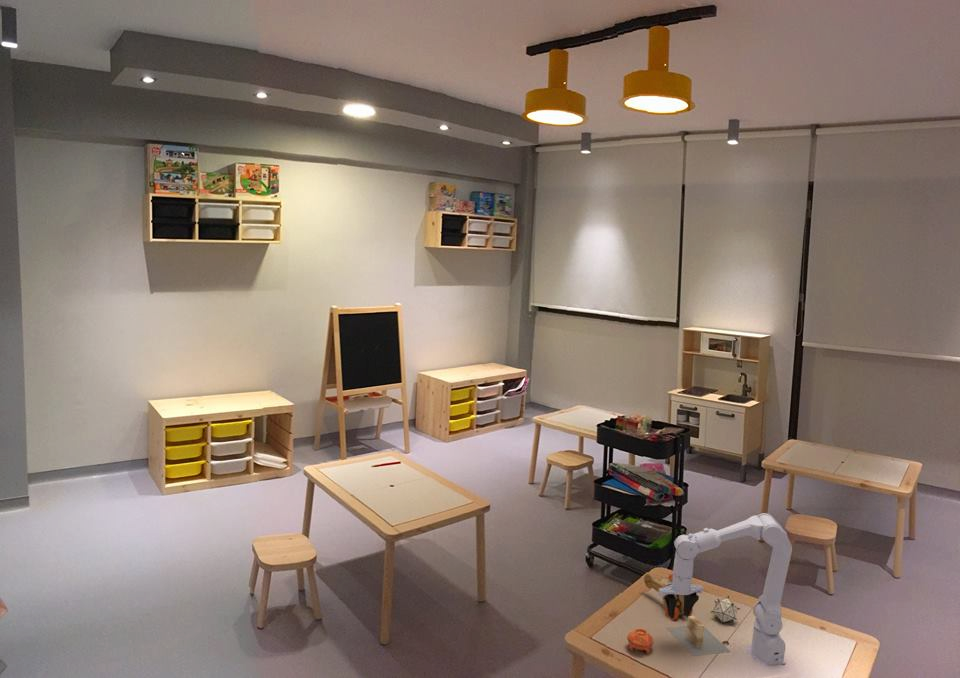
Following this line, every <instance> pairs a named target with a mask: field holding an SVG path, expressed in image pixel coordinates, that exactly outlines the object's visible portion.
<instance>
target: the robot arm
mask: <svg viewBox="0 0 960 678" xmlns="http://www.w3.org/2000/svg"><path fill="white" fill-rule="evenodd" d="M747 536H748V537H750V538H753V539H756V540H758V541H760V540H761V538H762V540H763V541H764V542H765V543H766V544H768V545H769V546H771V547H772V550H771V554H770V559H769V560H770V561H769V564H768V565H769V566H768V569H767V573H766V578H765V581H764V582H765V583H764V587H763V592H762V594H761V595H760V596H759V597H758V600H757V602H756V603H755V604H754V606H753V609H752V613H753V615H754V617H755V621H754V623H753V628H752V629H753V630H752V638H751V646H748V647H744V650H746V651H747V652H748V653H749V654H750V655H751V656H752V657H753V658H755V659H756V660H757V661H758V662H759V663H760V664H761V665H762V666H764V667H765V666H766V667H767V666H773V665H786V663H787V662H786V661H785V660H784V659H785V652H786V642H785V640H784V639H783V638H782V637H781V635H780V632H781V631H782V630H783V627H784V626H783V622H782V621H783V620H782V615H783V612H782V606H781V601H782V597H783V593H784V588H785V583H786V579H787V576H788V575H787V574H788V572H789V571H788V570H789V566H790V561H791V557H792V553H793V546H792V544H791V542H790V539H789V537H788V532H787V531H785V530H784V529H783V527H782V526H781V525H780V523H779V522H778V521H777V520H776V519H775V517H773V516H772V515H771V514H770V513H766V512H765V513H764V512H763V513H760V514H758V515H752V516H750V517H748V518H747V519H744V520H743V521H739V522H737V523H734V524H732V525H729V526H726V527H723V528H721V529H718V530H717V529H714V528H708V527H705V528H703V530H701V531H698V532H695V533H692V532H691V533H688V534H681V535H679V536H677V537H676V538H675V540H674V541H673V544H674V545H673V546H674V548H675V549H676V550H675V554H674V559H673V572H672V574H673V580H672V582H671V584H672V585H669V586H666V587H664V588H659V592H657V593H658V595H659V596H660V597H661V598H662V597H664V599H665V601H666V605H667V609H668V615H669V616H670V617H671V618H674V614H675V607H676V604H677V602H678V600H676V599H675V596H674V595H684V614H685V615H686V616H685V615H684V614H683V615H684V616H685V617H687V618H688V617H689V615H690V612H691V610H692V609H693V607H694V606H695V605H696V603H697V602H698V601H699V600H700V596H699V595H698V593H699V594H704V587H703V586H702V585H701V584H692V582H693V581H692V580H693V574H694V573H693V572H694V564H695V563H694V558H695V557H697V555H698V554H700V553H702V552H706V551H709V550H712V549H716V548H719V547H720V545H721V543H722V542H725V541H729V540H733V539H739V538H743V537H747ZM690 616H691V615H690Z"/></svg>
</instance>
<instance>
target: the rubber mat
mask: <svg viewBox="0 0 960 678" xmlns="http://www.w3.org/2000/svg"><path fill="white" fill-rule="evenodd" d="M666 629H667V631H669V632H670V633H671V634H672V636H673V637H675V639H677V640H678V642H680V644H681V645H683V647H684V648H685V649H686V650H687V651H688V652H689V653H690V654H691V655H692V656H693V657H698V656H707V655H716V654H722V653H731V650H730V649H729V648H728V647H727V646H726V645H725V644H724V643H722V642H721V641H720V640H719V639H718V638H717V637H716V636H715V635H713V634H712V633H711V632H710V631H709V630H708V629H707V628H706V627H705V626H704V635H703V645H702V647H696V646H695V645H694V644H693V643H692V642H691V641H690V640H689V639H688V638H687V637H686V633H687V625H682V626H681V625H680V626H670V627H666Z"/></svg>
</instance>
